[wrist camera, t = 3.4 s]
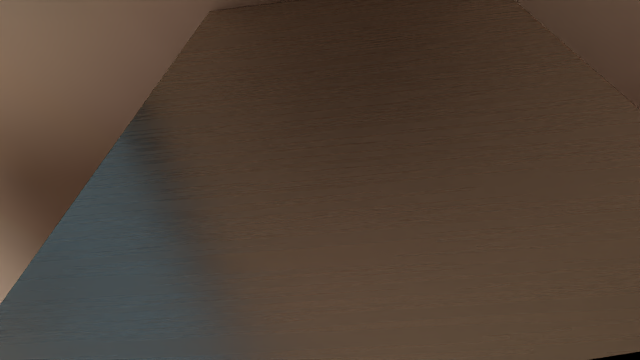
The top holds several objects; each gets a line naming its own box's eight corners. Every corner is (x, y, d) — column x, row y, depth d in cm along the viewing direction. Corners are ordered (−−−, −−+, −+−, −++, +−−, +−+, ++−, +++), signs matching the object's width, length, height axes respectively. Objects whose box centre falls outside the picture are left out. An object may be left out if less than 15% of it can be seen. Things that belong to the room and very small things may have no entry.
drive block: (486, -25, 7) (1090, 499, 1) (456, 297, 12) (568, 704, 6) (209, 11, 7) (-156, 523, 2) (289, 307, 12) (254, 698, 7)
